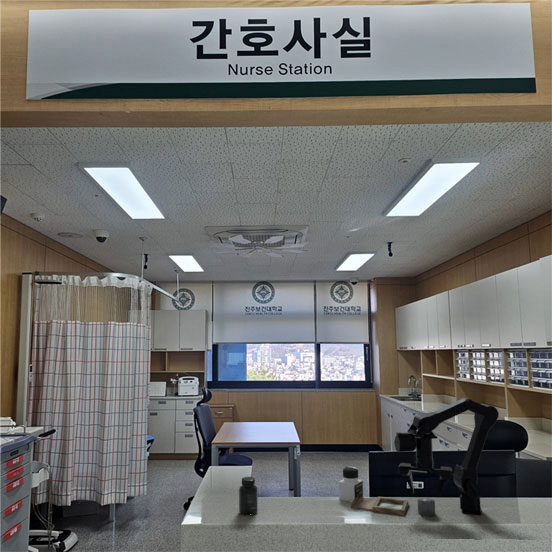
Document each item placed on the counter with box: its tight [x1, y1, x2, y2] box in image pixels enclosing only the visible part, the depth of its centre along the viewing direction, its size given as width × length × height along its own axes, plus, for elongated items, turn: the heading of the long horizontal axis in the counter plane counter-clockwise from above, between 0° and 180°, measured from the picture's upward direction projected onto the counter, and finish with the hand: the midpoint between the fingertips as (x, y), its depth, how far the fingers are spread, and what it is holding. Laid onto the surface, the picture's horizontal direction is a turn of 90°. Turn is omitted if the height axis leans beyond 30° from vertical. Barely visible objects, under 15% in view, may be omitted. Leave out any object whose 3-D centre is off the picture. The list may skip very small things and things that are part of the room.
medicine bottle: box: [338, 466, 364, 503], centre depth 193 cm, size 7×7×12 cm
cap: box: [417, 497, 436, 518], centre depth 176 cm, size 6×6×5 cm
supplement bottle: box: [238, 476, 259, 516], centre depth 179 cm, size 7×7×12 cm
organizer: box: [350, 496, 409, 516], centre depth 183 cm, size 19×11×2 cm, turn 67°
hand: (426, 495), depth 176 cm, fingers open, 9 cm apart
